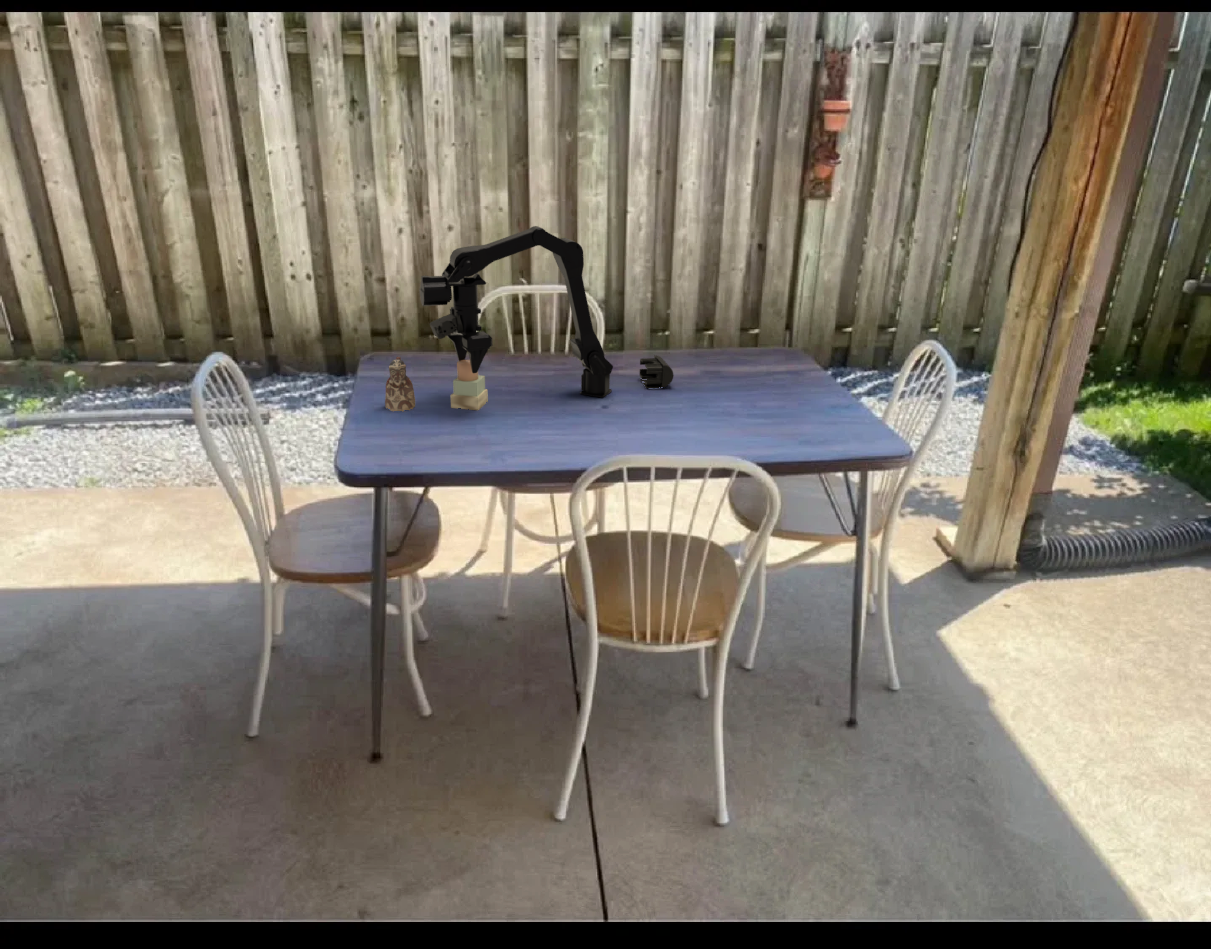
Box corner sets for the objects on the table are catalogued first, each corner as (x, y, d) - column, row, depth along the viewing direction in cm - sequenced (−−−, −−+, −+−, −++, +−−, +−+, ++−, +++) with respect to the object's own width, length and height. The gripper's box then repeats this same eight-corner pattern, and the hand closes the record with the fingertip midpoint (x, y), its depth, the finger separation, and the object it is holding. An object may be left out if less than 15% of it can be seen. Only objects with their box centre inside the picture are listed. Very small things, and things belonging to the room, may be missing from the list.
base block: (487, 402, 218) (487, 389, 217) (478, 411, 212) (477, 397, 210) (461, 400, 219) (460, 386, 218) (451, 408, 213) (450, 395, 212)
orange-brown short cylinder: (482, 377, 214) (481, 361, 212) (470, 382, 210) (470, 366, 208) (465, 374, 216) (464, 358, 214) (453, 379, 212) (452, 363, 210)
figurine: (382, 411, 209) (378, 362, 205) (389, 401, 216) (386, 354, 211) (411, 412, 209) (408, 363, 204) (418, 402, 216) (415, 355, 211)
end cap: (672, 389, 232) (674, 364, 229) (646, 390, 230) (648, 365, 228) (664, 378, 241) (665, 354, 238) (638, 379, 239) (639, 355, 237)
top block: (485, 389, 217) (484, 375, 215) (477, 396, 211) (476, 382, 210) (462, 387, 218) (461, 373, 216) (453, 394, 212) (453, 380, 211)
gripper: (420, 298, 209) (424, 361, 216) (445, 314, 194) (448, 382, 201) (464, 295, 214) (467, 357, 221) (492, 310, 199) (494, 376, 205)
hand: (468, 367), depth 212 cm, fingers open, 9 cm apart
